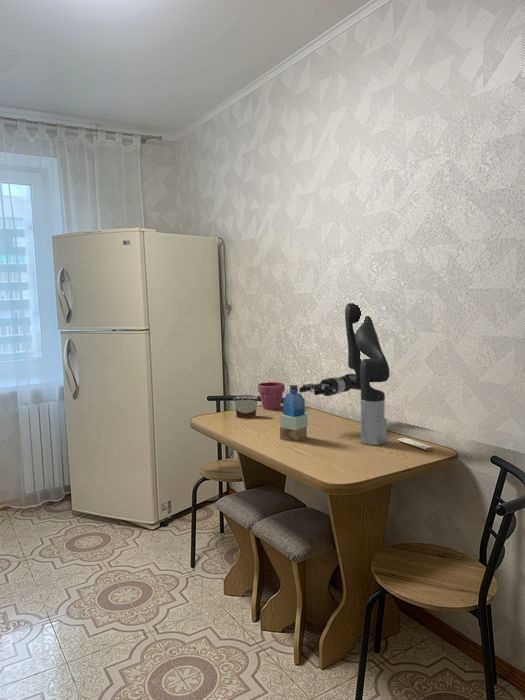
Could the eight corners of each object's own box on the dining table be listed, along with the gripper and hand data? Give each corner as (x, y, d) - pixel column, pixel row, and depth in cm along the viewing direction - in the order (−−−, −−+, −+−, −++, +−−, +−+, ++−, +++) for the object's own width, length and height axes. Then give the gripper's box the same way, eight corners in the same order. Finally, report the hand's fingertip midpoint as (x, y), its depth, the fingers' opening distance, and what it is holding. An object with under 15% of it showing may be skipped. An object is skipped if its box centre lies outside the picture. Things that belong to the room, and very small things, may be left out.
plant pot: (257, 405, 277) (257, 381, 275) (283, 404, 277) (283, 381, 276) (258, 411, 262) (258, 386, 261) (286, 410, 263) (285, 385, 262)
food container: (260, 414, 255) (259, 394, 254) (258, 417, 248) (258, 397, 247) (235, 414, 256) (235, 394, 255) (233, 417, 250) (233, 397, 249)
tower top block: (307, 426, 212) (307, 414, 211) (296, 430, 205) (296, 418, 205) (291, 423, 217) (291, 411, 216) (280, 427, 211) (280, 415, 210)
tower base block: (306, 437, 213) (306, 425, 212) (297, 442, 206) (297, 430, 206) (289, 435, 217) (289, 423, 217) (280, 439, 210) (279, 427, 210)
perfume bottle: (294, 412, 215) (294, 383, 214) (304, 414, 210) (304, 385, 209) (283, 414, 211) (282, 385, 210) (293, 417, 206) (293, 387, 205)
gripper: (320, 376, 231) (295, 380, 220) (345, 379, 220) (320, 384, 209) (320, 392, 232) (295, 397, 221) (345, 396, 221) (320, 402, 210)
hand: (307, 391), depth 215 cm, fingers open, 8 cm apart
